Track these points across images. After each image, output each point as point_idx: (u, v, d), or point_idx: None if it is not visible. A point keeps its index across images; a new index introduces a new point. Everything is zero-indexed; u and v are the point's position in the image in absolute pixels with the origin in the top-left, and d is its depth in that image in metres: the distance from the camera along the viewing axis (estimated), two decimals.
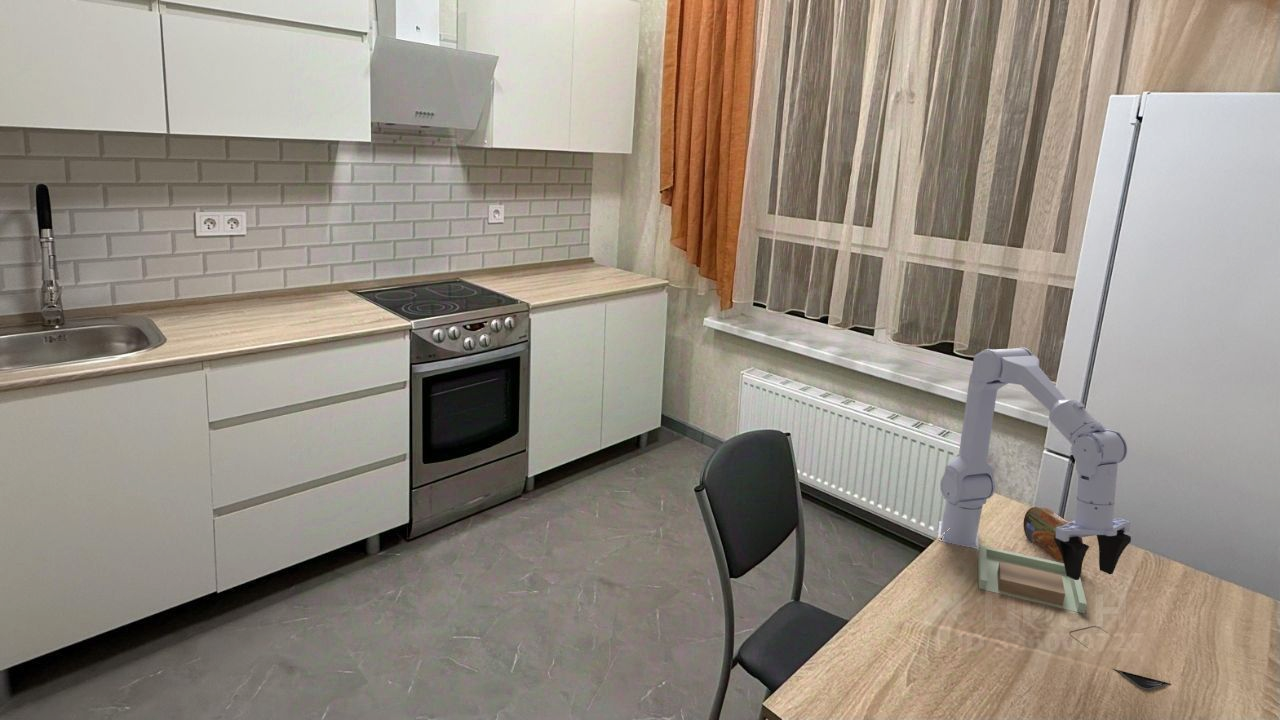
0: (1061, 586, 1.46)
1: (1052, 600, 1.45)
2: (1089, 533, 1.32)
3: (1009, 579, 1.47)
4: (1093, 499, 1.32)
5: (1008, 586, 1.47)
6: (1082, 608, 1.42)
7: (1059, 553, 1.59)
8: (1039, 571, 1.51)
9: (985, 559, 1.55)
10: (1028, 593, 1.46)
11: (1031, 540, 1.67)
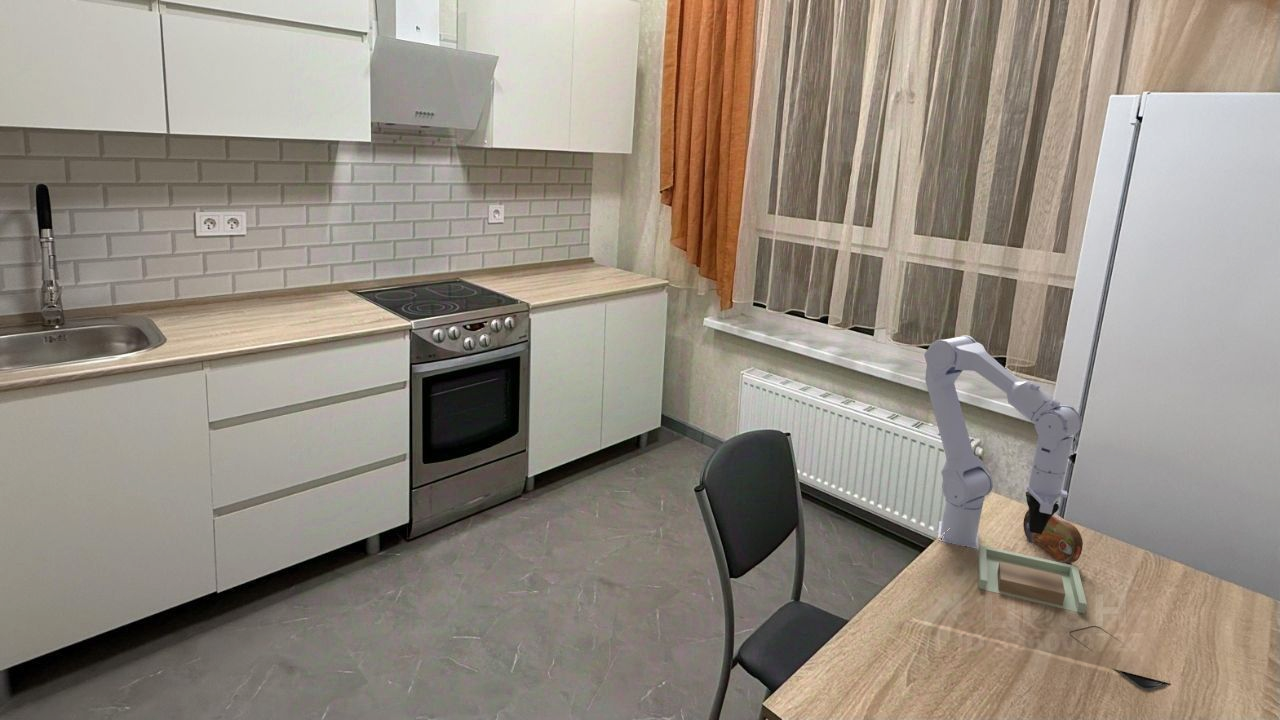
0: (1061, 586, 1.46)
1: (1052, 600, 1.45)
2: (1057, 500, 1.47)
3: (1009, 579, 1.47)
4: (1051, 469, 1.46)
5: (1008, 586, 1.47)
6: (1082, 608, 1.42)
7: (1059, 553, 1.59)
8: (1039, 571, 1.51)
9: (985, 559, 1.55)
10: (1028, 593, 1.46)
11: (1031, 540, 1.67)
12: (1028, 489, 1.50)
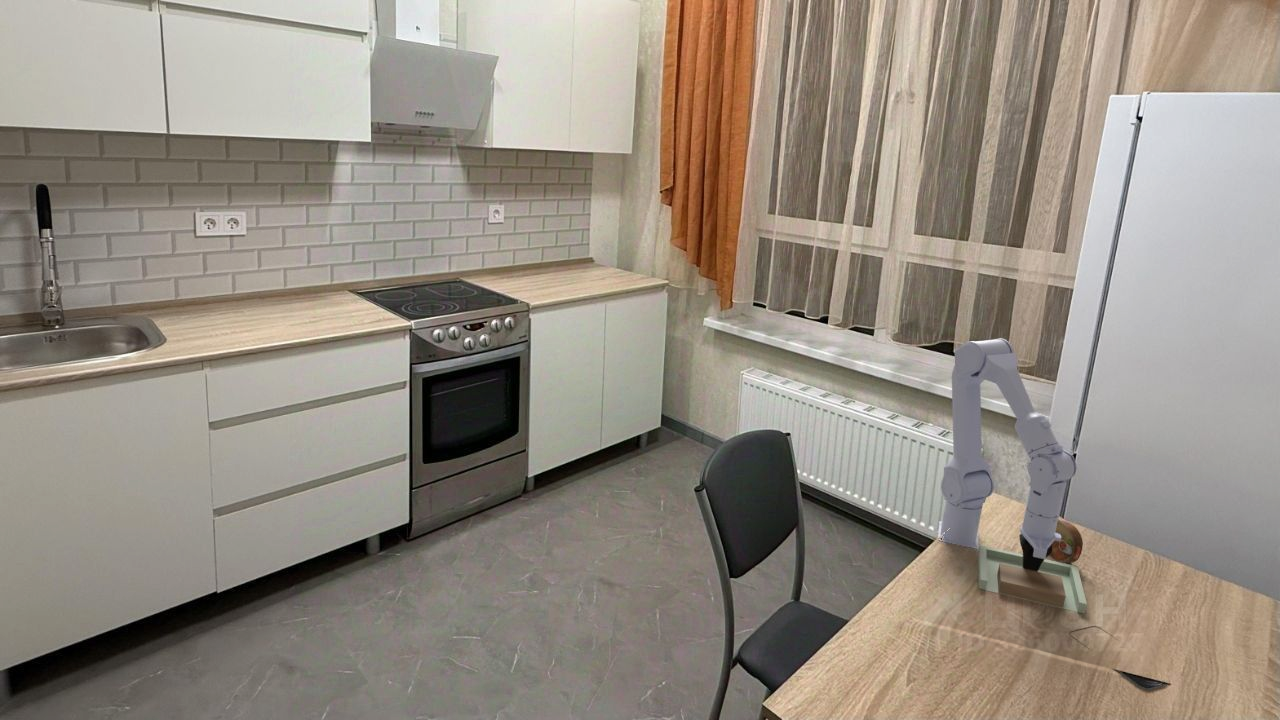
0: (1061, 588, 1.45)
1: (1052, 602, 1.44)
2: (1051, 543, 1.46)
3: (1009, 581, 1.46)
4: (1042, 512, 1.46)
5: (1008, 588, 1.46)
6: (1082, 608, 1.42)
7: (1059, 553, 1.59)
8: (1039, 573, 1.50)
9: (985, 559, 1.55)
10: (1028, 595, 1.45)
11: None
12: (1022, 532, 1.50)
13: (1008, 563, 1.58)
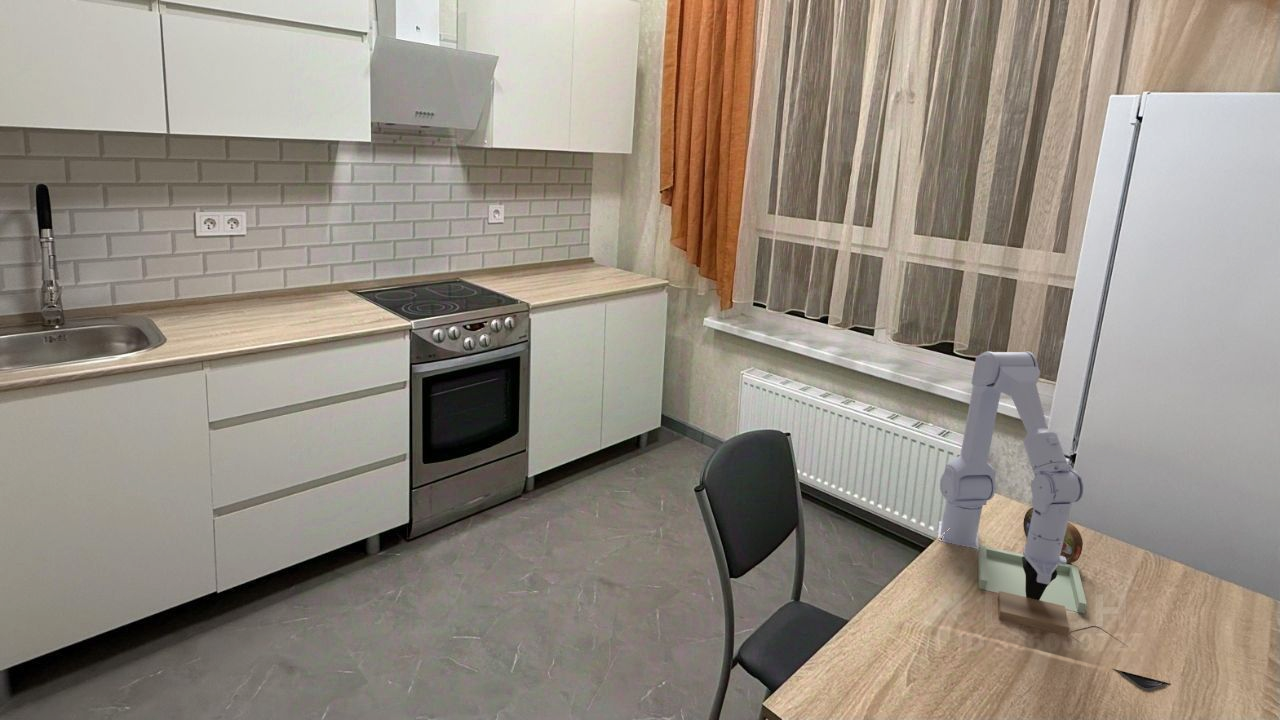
0: (1064, 618, 1.37)
1: None
2: (1055, 568, 1.38)
3: (1010, 612, 1.39)
4: (1041, 533, 1.38)
5: (1008, 619, 1.39)
6: (1082, 608, 1.42)
7: None
8: (1041, 602, 1.42)
9: (985, 559, 1.55)
10: None
11: None
12: (1024, 555, 1.41)
13: (1008, 563, 1.58)
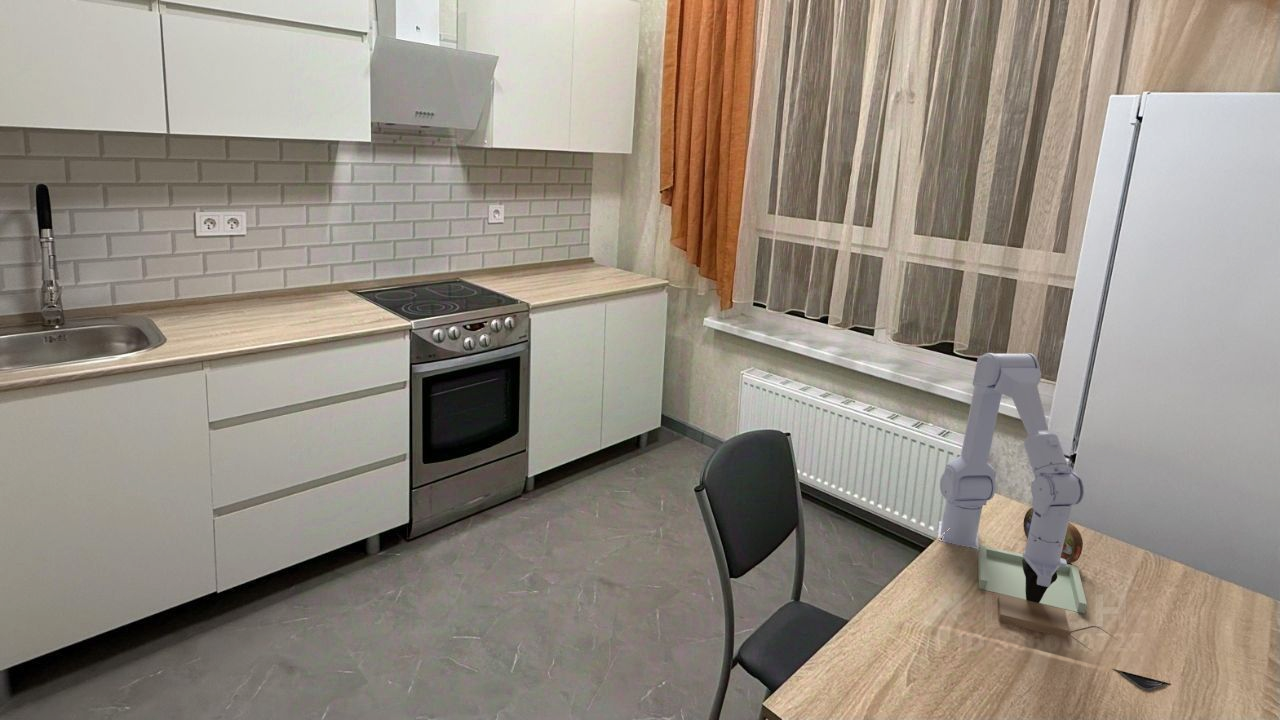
0: (1064, 622, 1.37)
1: None
2: (1055, 570, 1.37)
3: (1010, 615, 1.38)
4: (1041, 535, 1.37)
5: (1008, 622, 1.38)
6: (1082, 608, 1.42)
7: None
8: (1041, 605, 1.41)
9: (985, 559, 1.55)
10: None
11: None
12: (1025, 557, 1.41)
13: (1008, 563, 1.58)
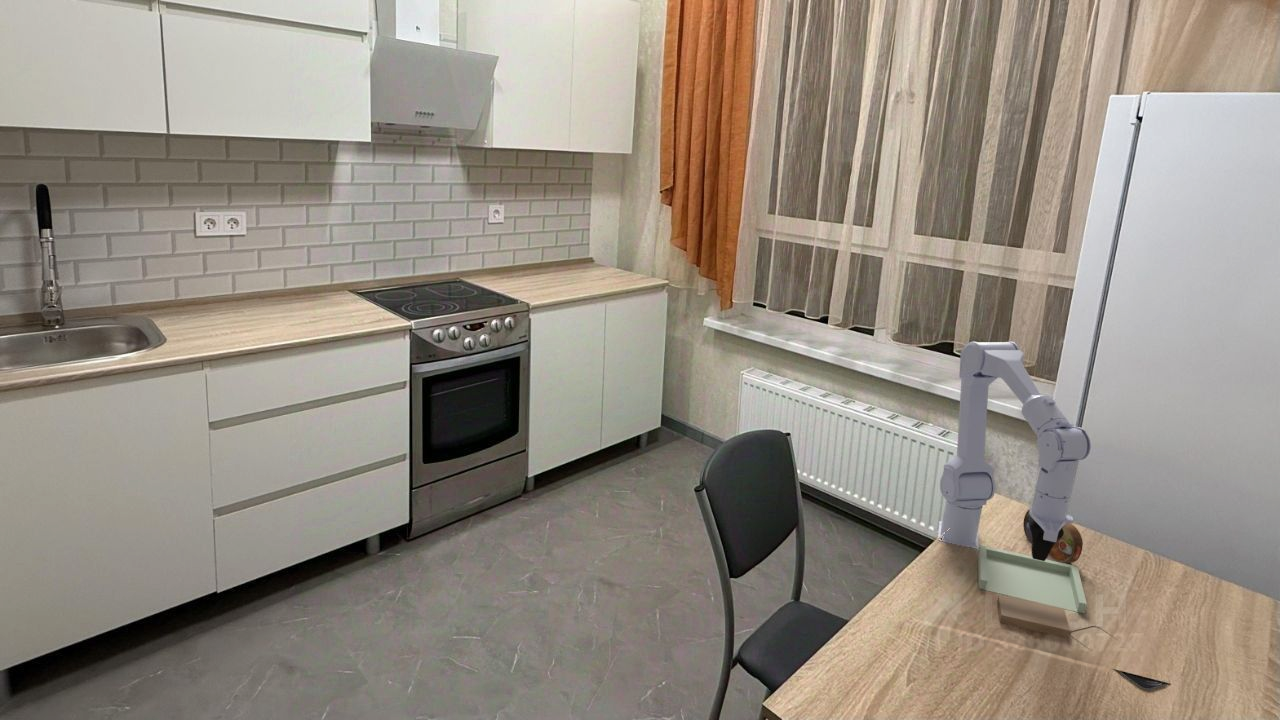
0: (1065, 621, 1.37)
1: None
2: (1062, 526, 1.37)
3: (1010, 615, 1.38)
4: (1048, 491, 1.37)
5: (1009, 623, 1.38)
6: (1082, 608, 1.42)
7: (1059, 553, 1.59)
8: (1040, 604, 1.41)
9: (985, 559, 1.55)
10: None
11: (1031, 540, 1.67)
12: (1031, 514, 1.40)
13: (1008, 563, 1.58)
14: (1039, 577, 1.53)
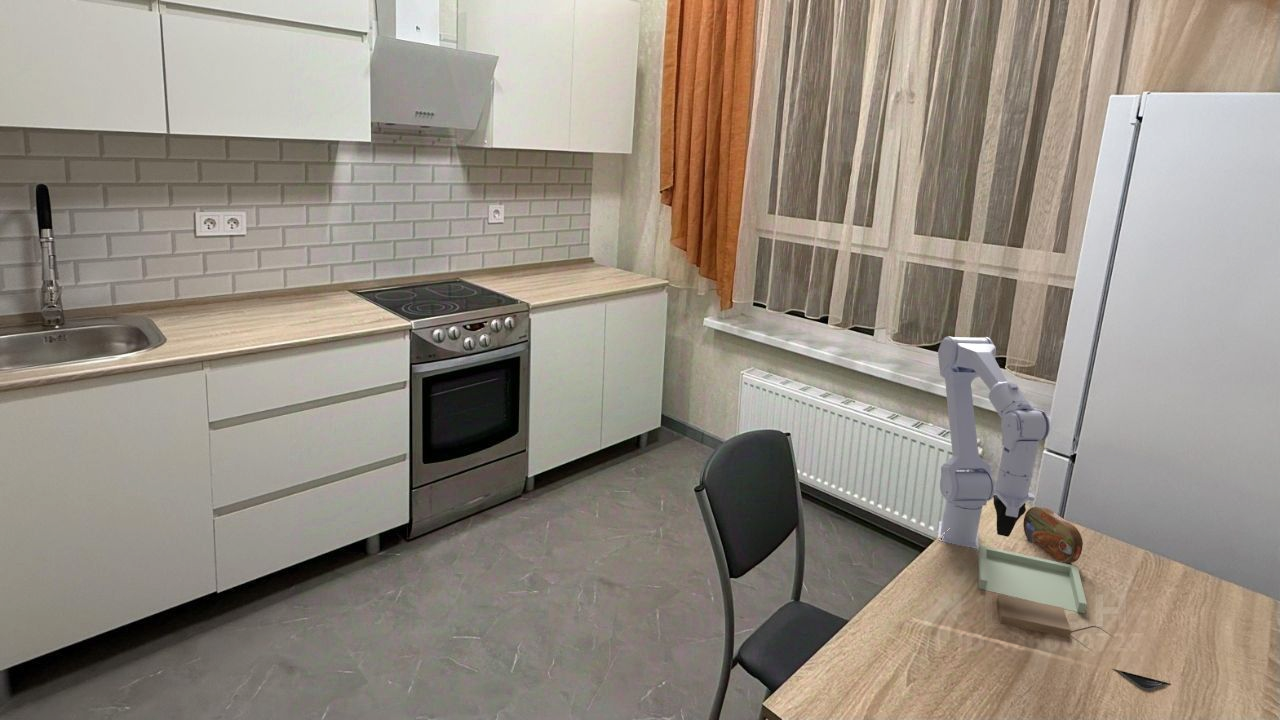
0: (1065, 621, 1.37)
1: None
2: (1024, 503, 1.45)
3: (1011, 616, 1.38)
4: (1010, 470, 1.45)
5: (1010, 623, 1.38)
6: (1082, 608, 1.42)
7: (1059, 553, 1.59)
8: (1040, 604, 1.41)
9: (985, 559, 1.55)
10: None
11: (1031, 540, 1.67)
12: (995, 492, 1.48)
13: (1008, 563, 1.58)
14: (1039, 577, 1.53)
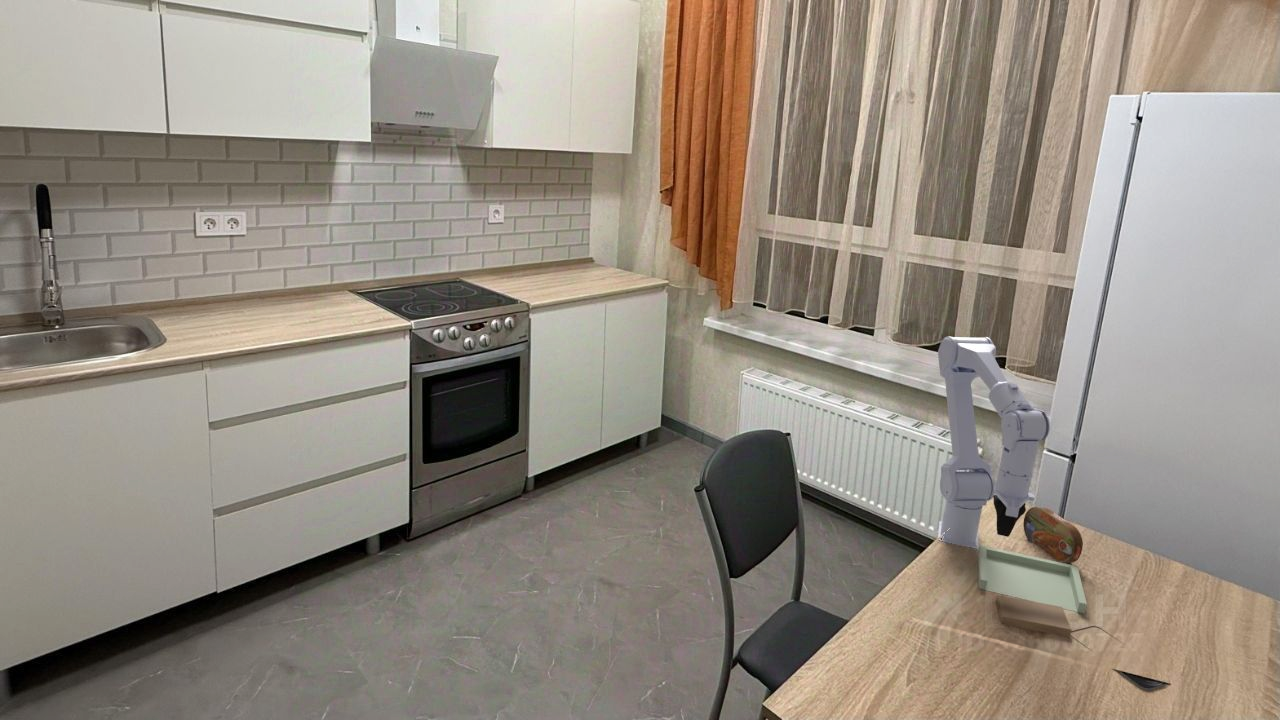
0: (1065, 620, 1.37)
1: None
2: (1024, 503, 1.45)
3: (1012, 617, 1.37)
4: (1010, 470, 1.45)
5: (1011, 624, 1.37)
6: (1082, 608, 1.42)
7: (1059, 553, 1.59)
8: (1039, 604, 1.42)
9: (985, 559, 1.55)
10: None
11: (1031, 540, 1.67)
12: (995, 492, 1.48)
13: (1008, 563, 1.58)
14: (1039, 577, 1.53)
